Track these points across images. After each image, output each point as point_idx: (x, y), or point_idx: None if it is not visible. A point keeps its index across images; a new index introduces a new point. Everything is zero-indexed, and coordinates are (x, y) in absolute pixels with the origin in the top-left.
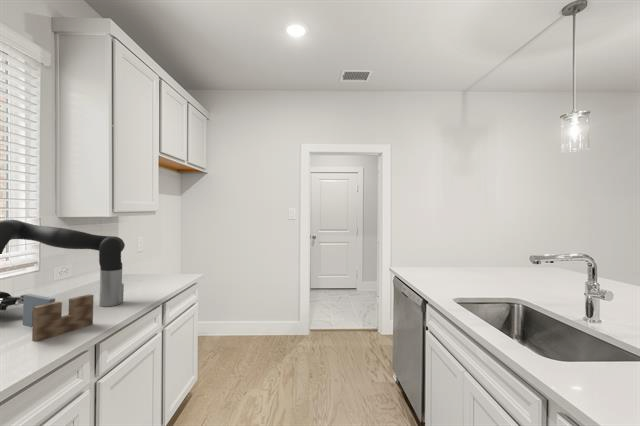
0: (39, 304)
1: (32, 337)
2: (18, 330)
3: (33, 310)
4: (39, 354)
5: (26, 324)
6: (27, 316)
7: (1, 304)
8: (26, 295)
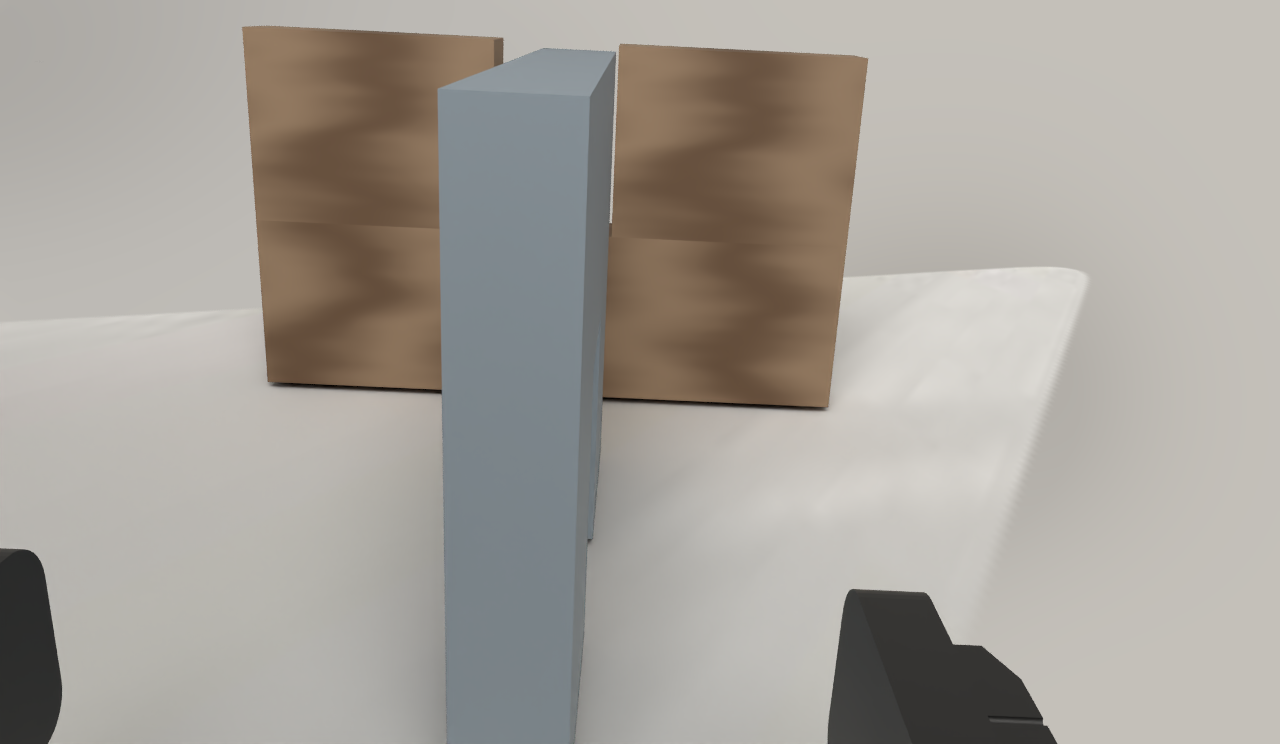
0: (606, 177)
1: (830, 378)
2: (764, 673)
3: (862, 98)
4: (891, 314)
5: (575, 713)
6: (582, 548)
7: (975, 705)
8: (595, 90)
